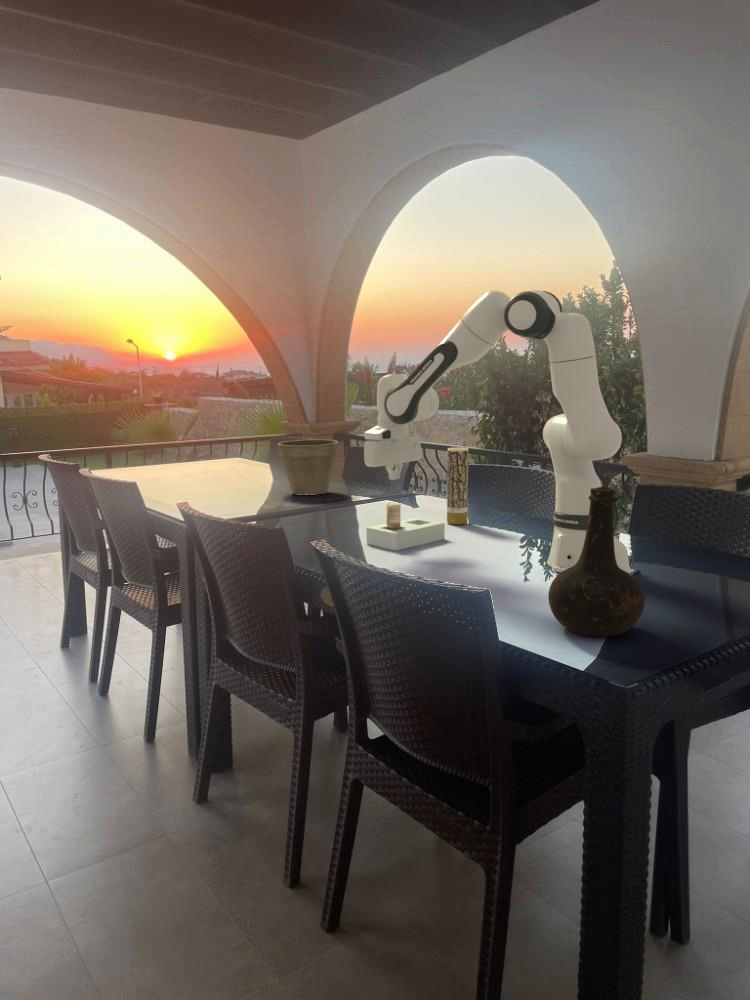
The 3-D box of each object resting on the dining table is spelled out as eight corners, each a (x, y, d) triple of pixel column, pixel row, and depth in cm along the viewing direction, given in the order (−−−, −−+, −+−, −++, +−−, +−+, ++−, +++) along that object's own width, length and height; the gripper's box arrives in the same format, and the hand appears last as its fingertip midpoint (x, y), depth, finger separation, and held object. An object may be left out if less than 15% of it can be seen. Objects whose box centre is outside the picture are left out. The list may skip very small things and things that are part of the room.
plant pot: (271, 497, 295) (269, 444, 292) (288, 488, 319) (287, 438, 316) (331, 499, 291) (330, 444, 288) (344, 489, 315) (343, 439, 312)
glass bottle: (541, 639, 137) (546, 492, 132) (553, 610, 153) (558, 479, 148) (642, 651, 131) (651, 498, 126) (644, 620, 147) (652, 483, 142)
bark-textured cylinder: (466, 525, 239) (467, 449, 234) (445, 525, 240) (446, 449, 236) (468, 521, 245) (469, 447, 241) (447, 521, 246) (448, 447, 242)
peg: (403, 544, 213) (403, 504, 211) (393, 546, 210) (393, 506, 208) (393, 542, 216) (393, 502, 214) (383, 544, 213) (383, 504, 211)
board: (444, 539, 220) (444, 522, 219) (396, 551, 206) (395, 533, 205) (415, 533, 228) (415, 517, 228) (366, 544, 214) (366, 527, 213)
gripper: (410, 427, 217) (411, 473, 220) (359, 433, 203) (361, 482, 206) (426, 428, 213) (426, 475, 215) (375, 434, 199) (376, 484, 201)
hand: (394, 479), depth 210 cm, fingers closed
